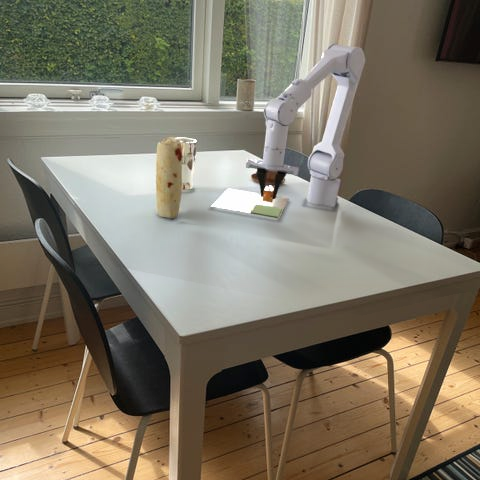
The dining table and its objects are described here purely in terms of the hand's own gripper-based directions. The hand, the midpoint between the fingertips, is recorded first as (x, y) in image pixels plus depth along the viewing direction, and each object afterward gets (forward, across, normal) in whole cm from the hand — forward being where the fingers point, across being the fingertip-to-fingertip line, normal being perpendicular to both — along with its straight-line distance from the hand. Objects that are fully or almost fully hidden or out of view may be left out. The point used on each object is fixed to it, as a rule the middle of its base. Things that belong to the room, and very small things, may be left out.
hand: (268, 196), depth 138 cm
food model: (+5, -24, -14) cm, 29 cm away
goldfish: (+1, 0, 0) cm, 1 cm away
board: (+5, -6, +6) cm, 9 cm away
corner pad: (+4, 0, 0) cm, 4 cm away
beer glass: (+5, -28, +10) cm, 31 cm away
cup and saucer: (+5, -6, +32) cm, 33 cm away
